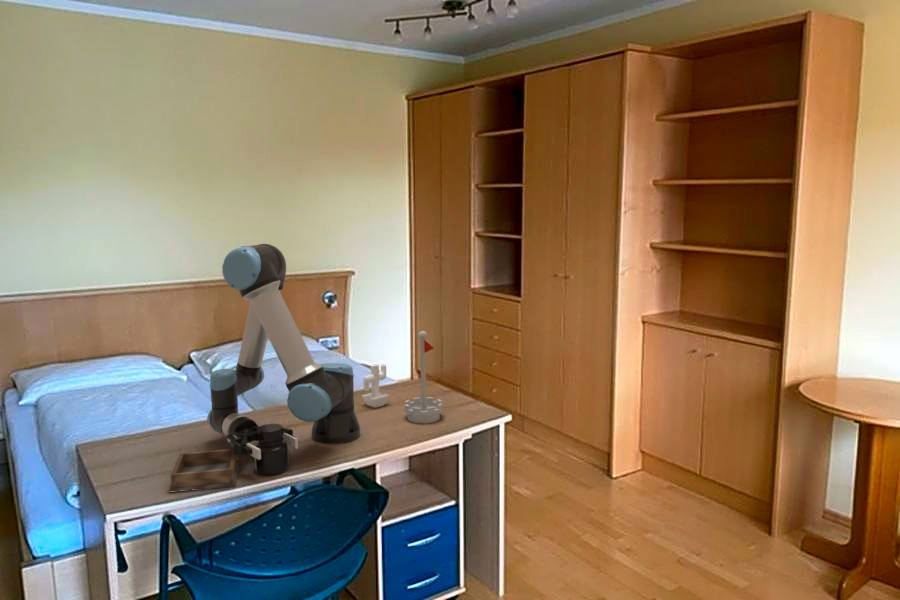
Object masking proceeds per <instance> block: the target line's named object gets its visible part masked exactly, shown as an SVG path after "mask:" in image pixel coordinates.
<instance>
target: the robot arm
mask: <svg viewBox="0 0 900 600" xmlns="http://www.w3.org/2000/svg"><path fill="white" fill-rule="evenodd" d="M286 261H287V260H286V258H285V256H284V254H283V253H282V251H281V250H280V249H279V248H278V247H276V246H275V245H272V244H270V243H269V244H268V243H260V244H254V245H253V244H252V245H244V246H240V247H237V248H234V249H232V250H230V251H229V252H228V253H227V254H226V256H225V258H224V259H223V263H222V267H221V268H222V276H223V278H224V281H225V283H226V284H227V285H229V286H230V287H231V288H233V289H235V290H238V291H239V294H240V296H241V298H242V299H243V300H245V301H248V302H250V304H249V308H248V311H247V312H248V313H247V315H246V316H247V317H246V322H245V325H244V331H243V335H242V341H241V345H240V350H239V354H238V358H237V362H236V367H235V369H233V368H220V369H216V370H213V371H211V373H210V375H209V377H210V381H209V382H210V383H209V387H210V388H209V390H210V399H211V401H210V403H211V409H210V411H209V412H208V415H206V416H207V417H206V419H207V424H208V426H209V427H210V428H212V429H213V431H215V433H220V434H221V435H224V436H225V437H226V440H227V445H229V446H230V449H232V450H233V452H234V454H237V455H239V454H240V453H241V456H242V457H245V456H251V457H252V458H254V459H255V458H256V459H258V460H260V459H261V449H259V448H257V447H256V445H253V444H252V442H258V435H257V428H258V427H259V425H258V424H257V422H256V421H255V420H253V419H251V418H249V417H247V416H246V415H243V414H241V413H240V412H239V402H238V401H239V400H238V397H239V396H240V395H243V394H244V393H246V392H248V391H250V390H253V389H255V388H257V387H258V386H259V385H260V384H261V383H262V382H263V381H264V378H265V372H264V368H262V364H263V361H264V360H263V359H264V356H265V351H266V347H267V343H268V339H269V341H270V344H271V346H272V348H273V350H274V352H275V353H276V355H277V358H278V360H279V362H280V364H281V366H282V368H283V370H284V372H285V374H286V381H285V383H284V384H285V387H286V388H287V390H288V394H287V399H286V400H287V401H286V403H287V406H288V407H287V408H288V409H289V411H290V413H291V414H292V415H293V416H294V417H295V418H297V419H298V420H300V421H303V422H307V423H310V422H311V423H313V424H312V427H311V439H312V441H314V442H316V443H319V444H324V445H325V444H326V445H337V444H345V443H350V442H353V441H355V440H357V439H359V438H360V436H361V425H360V422H359V419H358V418H357V417H358V416H357V415H356V412H355V395H354V394H355V390H354V377H355V374H354V370H353V366H352V365H350V364H348V363H340V362H339V363H338V362H328V363H327V362H325V363H316V362H315V360H314V358H313V356H312V355H311V353H310V350H309V348H308V346H307V345H306V343H305V342H306V341H304V339H303V336H302V334H301V332H300V330H299V328H298V327H297V325H296V323H295V322H296V321H294V318H293V316H292V314H291V312H290V310H289V308H288V306H287V304H286V301H285V300H284V298H283V295H282V294H281V292H282V291H283V288H284V284H285V280H286V275H287V262H286ZM283 441H284V442H285V443H286V444H287V445H288V447H291V448H294V449H295V450H296V449H299V438H297V437H295V436H294V430H293V429H290V428H287V427H283Z"/></svg>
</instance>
